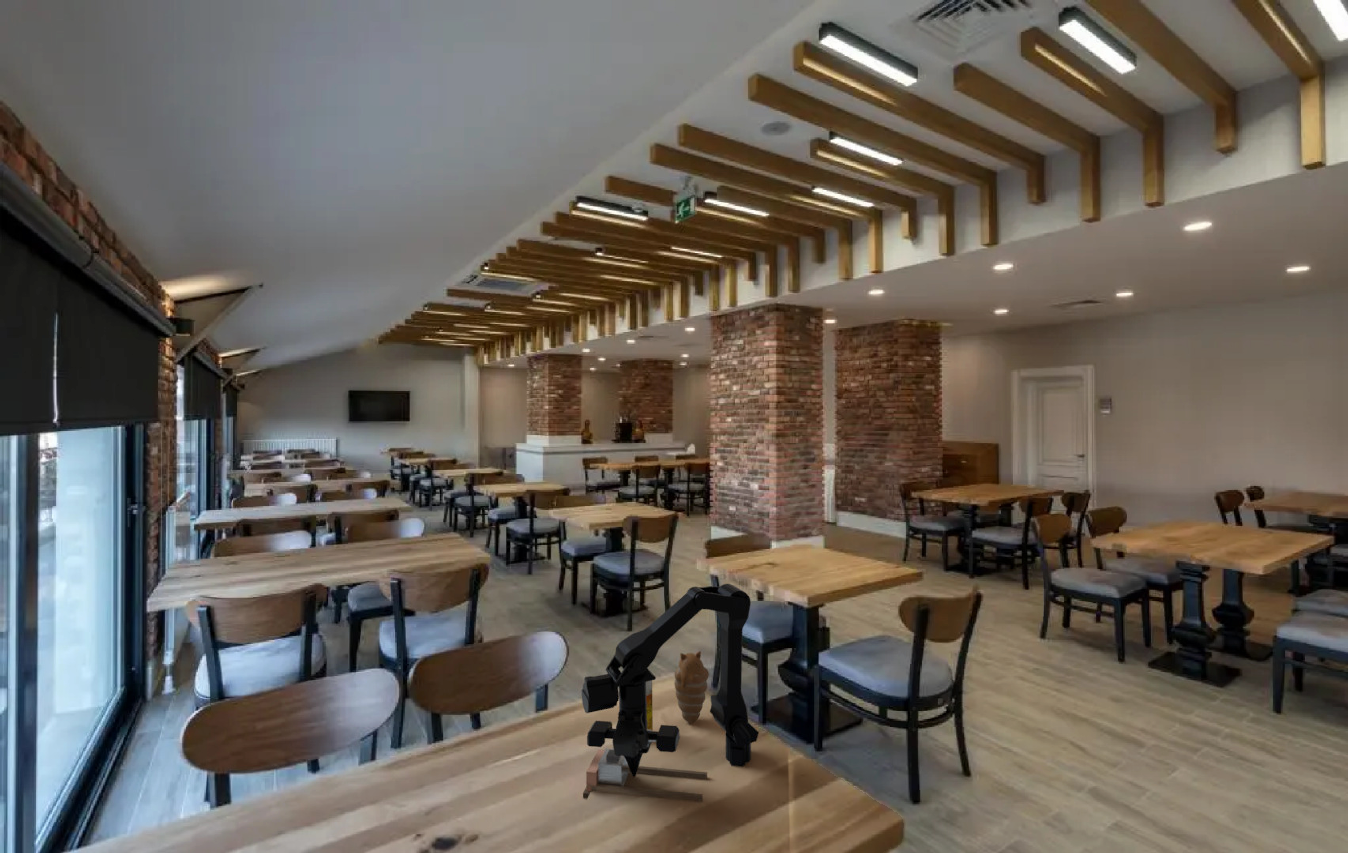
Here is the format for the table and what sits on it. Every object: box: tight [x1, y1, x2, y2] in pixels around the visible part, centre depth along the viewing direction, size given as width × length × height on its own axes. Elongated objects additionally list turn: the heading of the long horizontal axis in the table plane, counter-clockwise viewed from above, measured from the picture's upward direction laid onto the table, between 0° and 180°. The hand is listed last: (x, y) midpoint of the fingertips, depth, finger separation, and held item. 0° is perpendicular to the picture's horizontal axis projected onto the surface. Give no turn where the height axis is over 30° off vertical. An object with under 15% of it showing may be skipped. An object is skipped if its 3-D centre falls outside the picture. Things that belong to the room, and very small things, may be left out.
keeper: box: [598, 748, 630, 787], centre depth 132 cm, size 6×5×6 cm
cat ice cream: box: [674, 650, 710, 723], centre depth 158 cm, size 9×8×18 cm
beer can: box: [646, 680, 654, 731], centre depth 150 cm, size 6×6×15 cm
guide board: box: [582, 749, 708, 803], centre depth 131 cm, size 10×25×5 cm, turn 80°
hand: (634, 775), depth 131 cm, fingers closed
